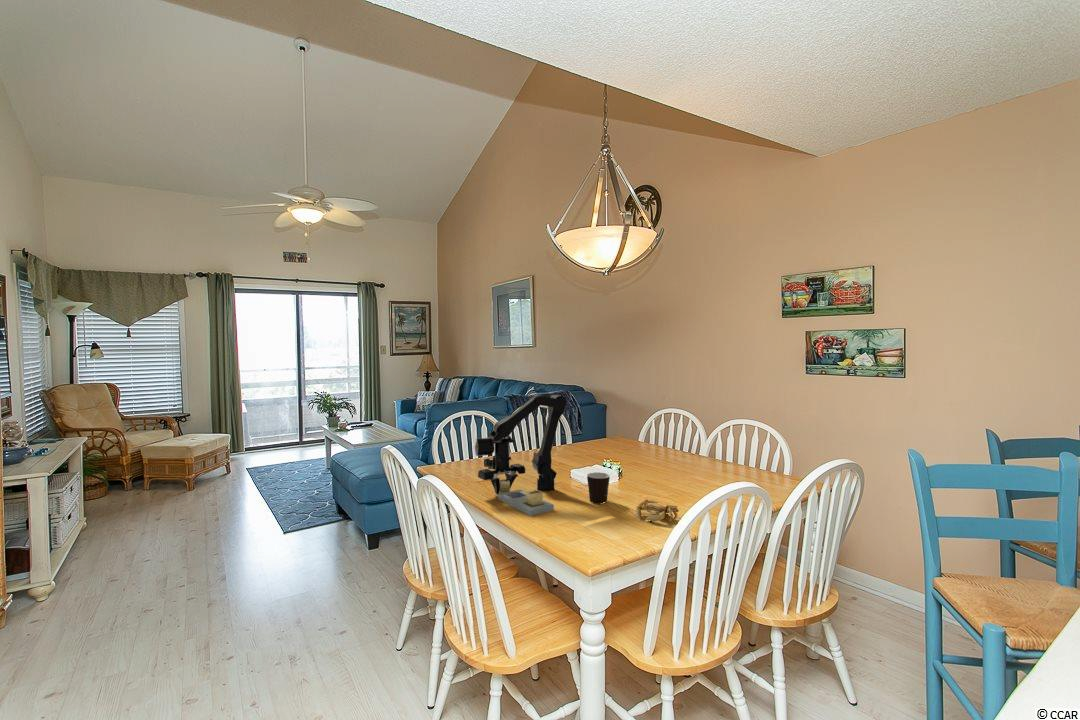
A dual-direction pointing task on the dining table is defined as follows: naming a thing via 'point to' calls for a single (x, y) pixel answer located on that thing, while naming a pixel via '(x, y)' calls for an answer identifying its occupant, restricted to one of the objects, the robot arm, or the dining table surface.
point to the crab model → (658, 508)
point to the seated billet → (534, 498)
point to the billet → (503, 486)
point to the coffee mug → (598, 486)
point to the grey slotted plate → (524, 503)
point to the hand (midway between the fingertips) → (502, 493)
